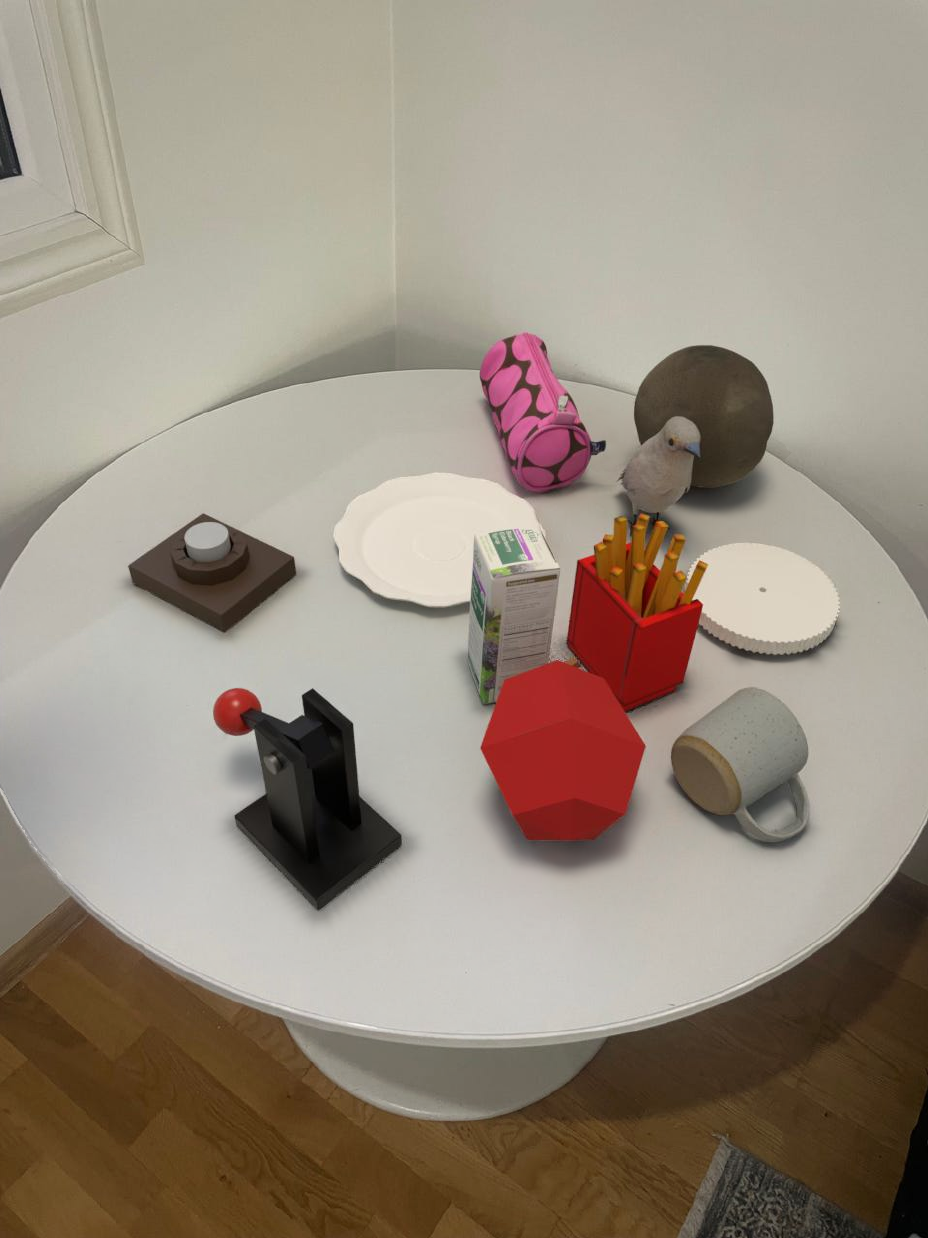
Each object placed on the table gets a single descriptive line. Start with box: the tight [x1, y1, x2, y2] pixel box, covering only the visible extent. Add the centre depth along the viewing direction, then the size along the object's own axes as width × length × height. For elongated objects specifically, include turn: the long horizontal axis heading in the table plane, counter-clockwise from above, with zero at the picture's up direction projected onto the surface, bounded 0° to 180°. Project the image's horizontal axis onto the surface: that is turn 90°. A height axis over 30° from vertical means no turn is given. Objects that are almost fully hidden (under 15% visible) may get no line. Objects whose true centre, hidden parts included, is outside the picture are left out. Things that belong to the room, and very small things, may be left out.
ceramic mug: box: [670, 686, 811, 843], centre depth 76 cm, size 11×8×8 cm
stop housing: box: [127, 512, 297, 633], centre depth 94 cm, size 12×10×4 cm
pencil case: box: [479, 331, 607, 493], centre depth 111 cm, size 21×10×10 cm, turn 13°
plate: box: [332, 471, 547, 609], centre depth 100 cm, size 21×21×2 cm
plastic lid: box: [683, 541, 841, 656], centre depth 93 cm, size 14×14×2 cm
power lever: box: [212, 687, 335, 769], centre depth 71 cm, size 13×4×4 cm, turn 44°
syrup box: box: [467, 526, 561, 705], centre depth 82 cm, size 6×6×14 cm
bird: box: [615, 416, 701, 538], centre depth 98 cm, size 5×14×15 cm, turn 17°
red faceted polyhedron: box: [479, 656, 647, 842], centre depth 74 cm, size 12×12×15 cm
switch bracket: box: [233, 687, 403, 911], centre depth 71 cm, size 10×8×13 cm
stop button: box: [184, 522, 231, 562], centre depth 93 cm, size 4×4×2 cm
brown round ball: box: [633, 344, 775, 489], centre depth 104 cm, size 14×14×15 cm
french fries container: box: [566, 512, 708, 713], centre depth 84 cm, size 7×9×14 cm
